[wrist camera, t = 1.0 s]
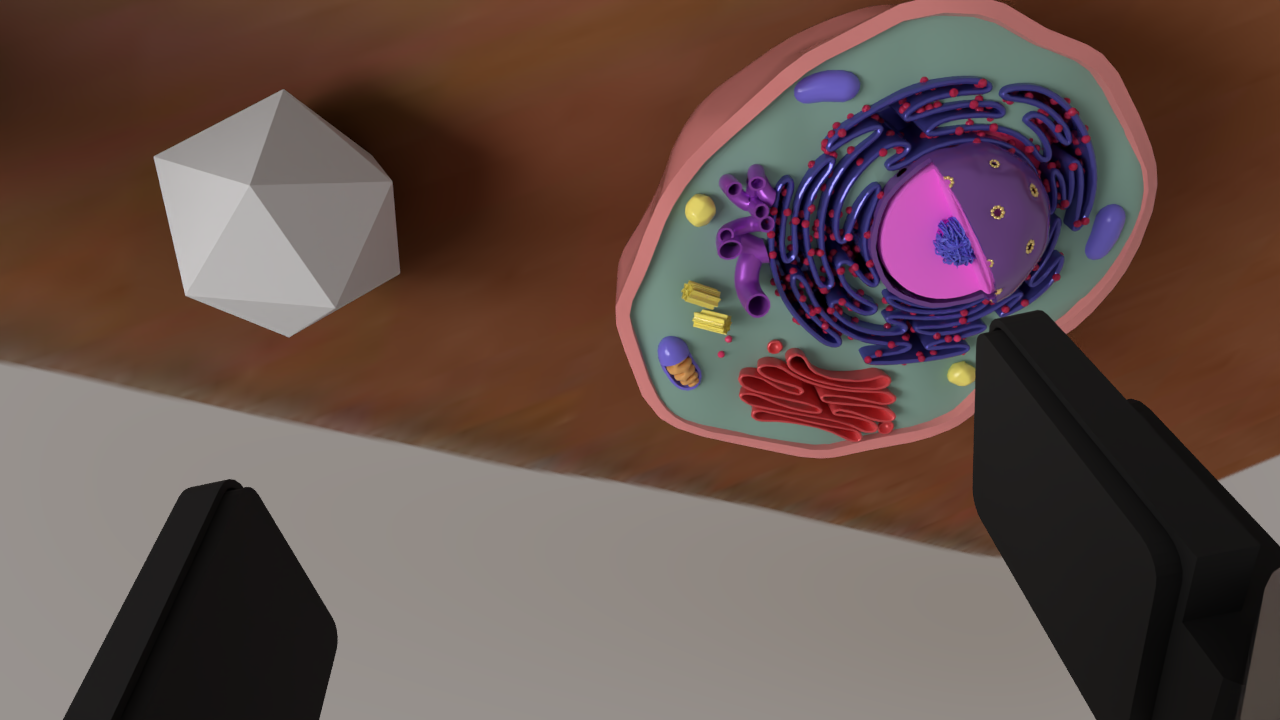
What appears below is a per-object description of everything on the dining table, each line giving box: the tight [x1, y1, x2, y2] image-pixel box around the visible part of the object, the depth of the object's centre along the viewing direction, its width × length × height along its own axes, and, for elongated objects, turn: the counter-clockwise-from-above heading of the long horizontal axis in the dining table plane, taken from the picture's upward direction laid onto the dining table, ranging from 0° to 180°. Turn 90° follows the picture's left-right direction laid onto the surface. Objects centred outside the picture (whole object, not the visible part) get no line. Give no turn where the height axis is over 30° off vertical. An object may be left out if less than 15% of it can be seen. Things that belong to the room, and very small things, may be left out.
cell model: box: [616, 0, 1157, 458], centre depth 34 cm, size 17×20×11 cm
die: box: [154, 89, 400, 337], centre depth 33 cm, size 8×9×10 cm
